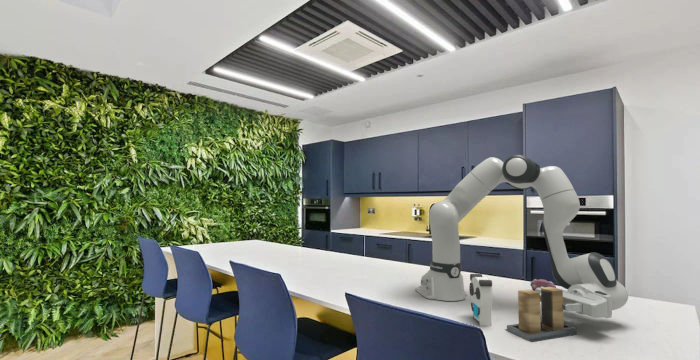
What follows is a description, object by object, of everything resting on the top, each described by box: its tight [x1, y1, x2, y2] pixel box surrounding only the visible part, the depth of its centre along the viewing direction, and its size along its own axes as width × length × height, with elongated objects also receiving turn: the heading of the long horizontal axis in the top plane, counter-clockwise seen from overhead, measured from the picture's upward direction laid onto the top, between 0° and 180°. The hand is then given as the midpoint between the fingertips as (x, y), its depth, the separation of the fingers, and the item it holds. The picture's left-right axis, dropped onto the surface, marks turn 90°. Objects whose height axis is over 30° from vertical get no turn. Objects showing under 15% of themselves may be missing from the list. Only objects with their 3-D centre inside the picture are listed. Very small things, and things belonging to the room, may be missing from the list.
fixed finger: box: [517, 288, 541, 333], centre depth 102 cm, size 4×4×12 cm
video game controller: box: [529, 278, 557, 291], centre depth 152 cm, size 10×5×7 cm, turn 48°
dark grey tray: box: [504, 320, 580, 343], centre depth 103 cm, size 10×18×2 cm, turn 110°
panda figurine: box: [469, 273, 494, 327], centre depth 112 cm, size 12×11×15 cm
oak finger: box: [540, 287, 564, 331], centre depth 105 cm, size 4×4×12 cm
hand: (550, 302), depth 105 cm, fingers open, 8 cm apart
